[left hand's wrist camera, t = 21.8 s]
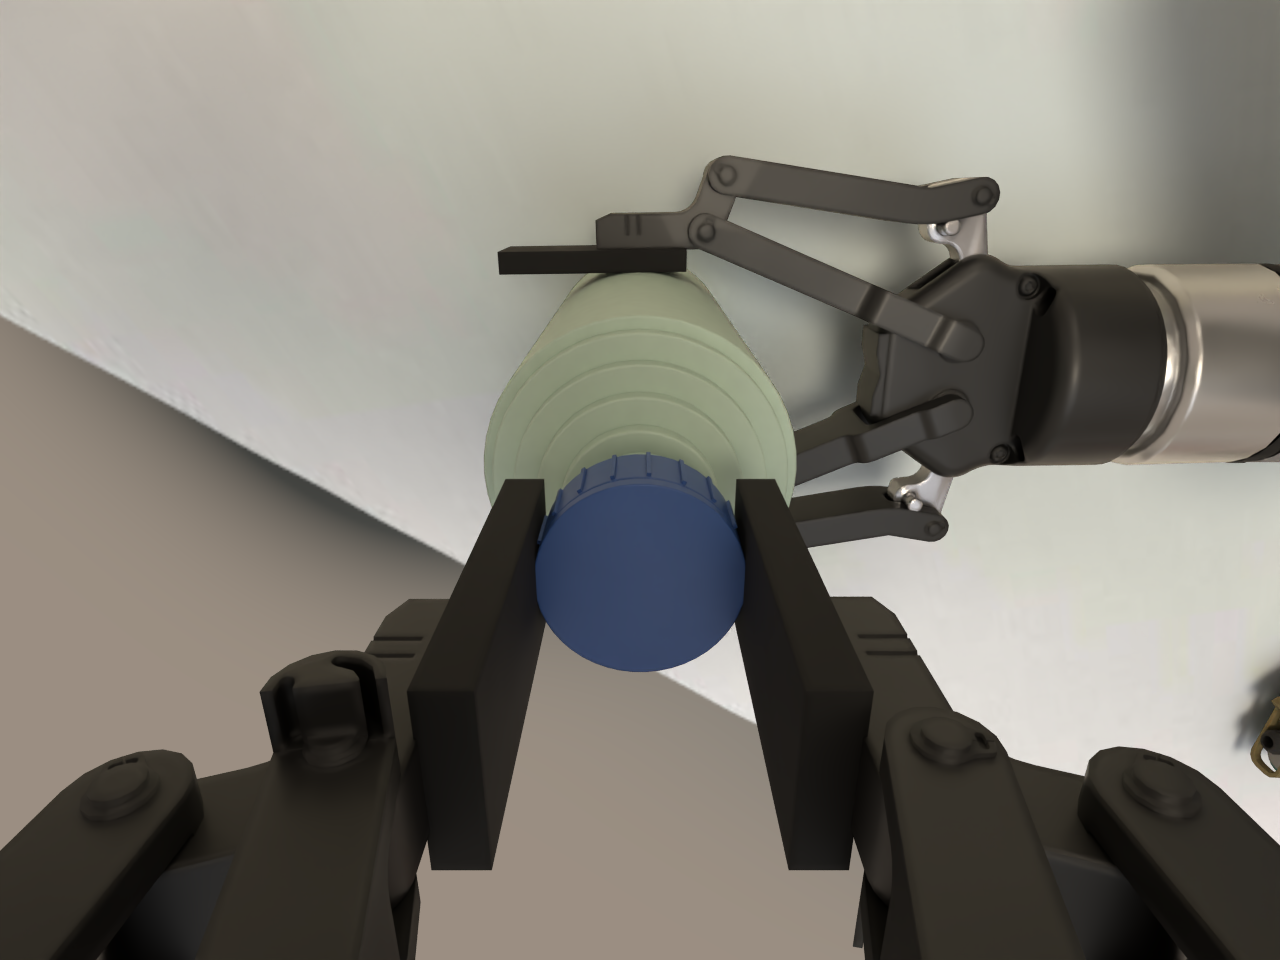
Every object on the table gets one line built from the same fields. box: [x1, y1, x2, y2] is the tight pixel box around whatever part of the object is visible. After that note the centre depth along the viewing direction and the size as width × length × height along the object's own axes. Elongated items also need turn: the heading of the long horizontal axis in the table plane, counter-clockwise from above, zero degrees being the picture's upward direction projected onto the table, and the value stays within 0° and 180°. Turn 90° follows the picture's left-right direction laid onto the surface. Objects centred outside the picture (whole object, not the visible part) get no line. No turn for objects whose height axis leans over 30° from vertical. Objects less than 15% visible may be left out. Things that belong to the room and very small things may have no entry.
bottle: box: [484, 269, 796, 516], centre depth 24 cm, size 8×8×22 cm
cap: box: [535, 452, 745, 672], centre depth 14 cm, size 4×4×2 cm
